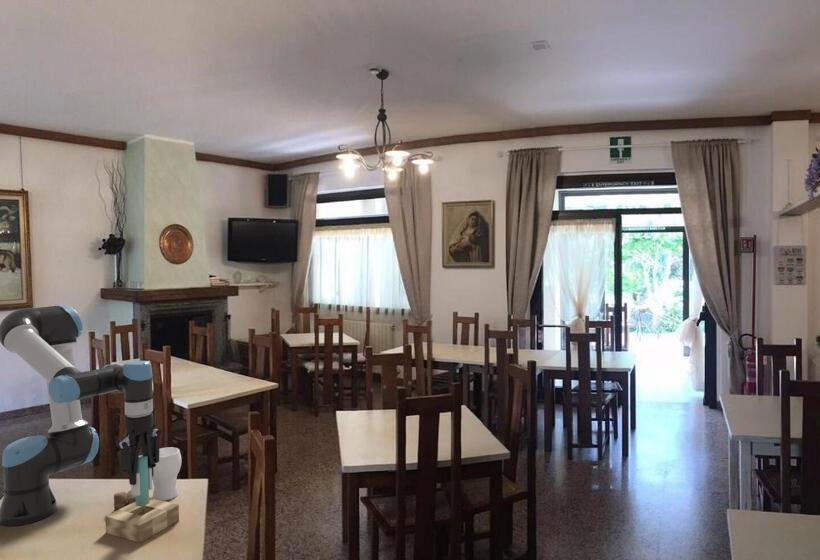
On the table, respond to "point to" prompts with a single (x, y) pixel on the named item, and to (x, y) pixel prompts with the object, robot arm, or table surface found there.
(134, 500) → the pin medium
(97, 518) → the table surface
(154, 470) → the cup
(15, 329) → the robot arm
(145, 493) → the pin long
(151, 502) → the hole block
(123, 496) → the pin short
